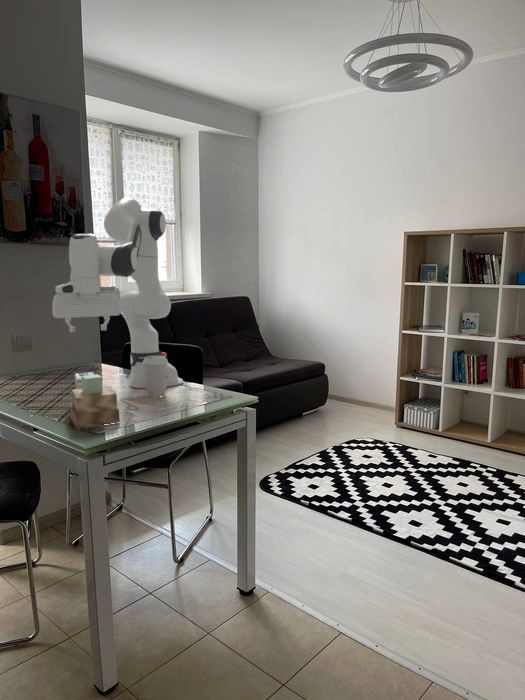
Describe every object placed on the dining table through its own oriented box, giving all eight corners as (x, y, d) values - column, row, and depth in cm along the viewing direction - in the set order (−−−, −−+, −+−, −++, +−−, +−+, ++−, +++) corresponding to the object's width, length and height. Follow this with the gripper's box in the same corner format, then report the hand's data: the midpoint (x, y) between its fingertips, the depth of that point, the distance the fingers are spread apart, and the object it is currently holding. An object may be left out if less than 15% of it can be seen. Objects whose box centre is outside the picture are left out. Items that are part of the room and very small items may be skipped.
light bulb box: (75, 401, 190) (73, 373, 188) (94, 400, 193) (93, 371, 191) (77, 409, 180) (75, 378, 178) (97, 407, 183) (96, 377, 181)
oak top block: (110, 400, 174) (109, 386, 173) (117, 409, 163) (116, 393, 162) (72, 404, 168) (71, 389, 168) (77, 414, 158) (76, 398, 157)
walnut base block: (110, 414, 175) (110, 400, 174) (119, 424, 164) (119, 409, 163) (70, 419, 169) (69, 404, 168) (76, 430, 158) (75, 414, 157)
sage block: (97, 389, 168) (97, 374, 167) (102, 392, 164) (101, 377, 163) (82, 391, 165) (81, 376, 164) (86, 394, 161) (85, 378, 160)
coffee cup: (147, 392, 204) (145, 355, 201) (171, 392, 203) (170, 355, 201) (140, 398, 194) (139, 359, 192) (166, 398, 194) (164, 359, 192)
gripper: (117, 285, 167) (119, 328, 170) (49, 287, 158) (52, 332, 160) (122, 286, 162) (124, 330, 164) (52, 288, 152) (55, 334, 154)
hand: (88, 331), depth 162 cm, fingers open, 8 cm apart
